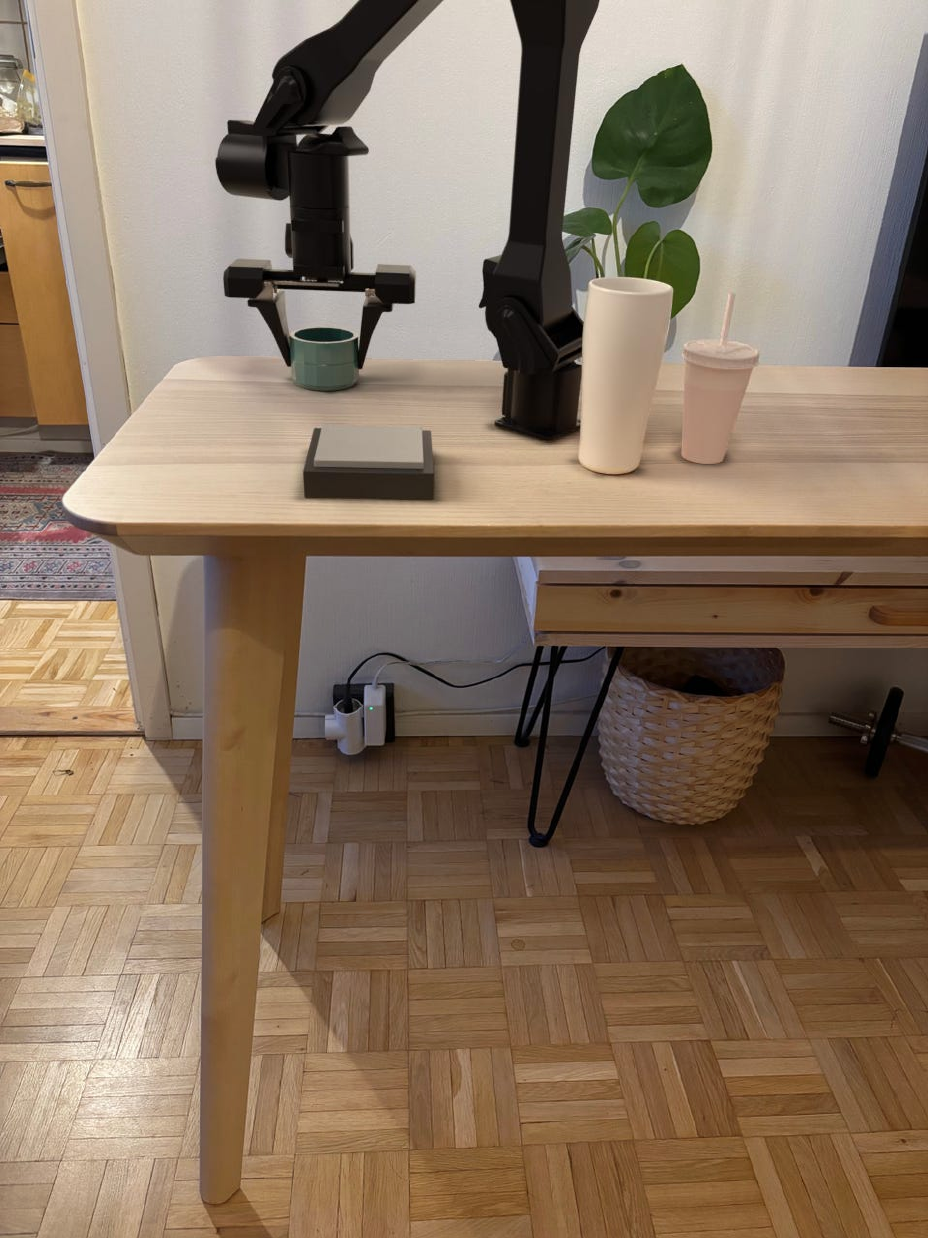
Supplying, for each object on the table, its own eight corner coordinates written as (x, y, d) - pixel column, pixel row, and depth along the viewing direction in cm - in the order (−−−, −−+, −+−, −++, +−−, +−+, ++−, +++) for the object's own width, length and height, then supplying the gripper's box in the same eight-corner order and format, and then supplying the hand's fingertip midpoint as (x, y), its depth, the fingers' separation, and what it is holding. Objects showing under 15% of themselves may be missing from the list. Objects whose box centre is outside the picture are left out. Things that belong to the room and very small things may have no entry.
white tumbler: (644, 454, 83) (670, 279, 75) (650, 482, 77) (679, 295, 69) (569, 449, 83) (587, 274, 76) (569, 476, 77) (588, 290, 70)
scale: (430, 454, 80) (431, 423, 79) (433, 499, 72) (434, 465, 70) (315, 452, 80) (313, 420, 78) (304, 497, 71) (302, 463, 70)
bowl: (372, 382, 98) (372, 335, 96) (324, 396, 94) (322, 346, 91) (326, 369, 102) (325, 323, 99) (278, 381, 97) (275, 333, 95)
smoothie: (741, 450, 85) (773, 291, 78) (735, 474, 79) (769, 306, 72) (671, 440, 86) (696, 283, 79) (661, 462, 81) (687, 297, 74)
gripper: (418, 199, 96) (416, 350, 104) (238, 192, 96) (249, 344, 103) (415, 213, 87) (413, 378, 95) (215, 205, 86) (230, 372, 94)
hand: (325, 366), depth 97 cm, fingers closed on bowl, 7 cm apart
